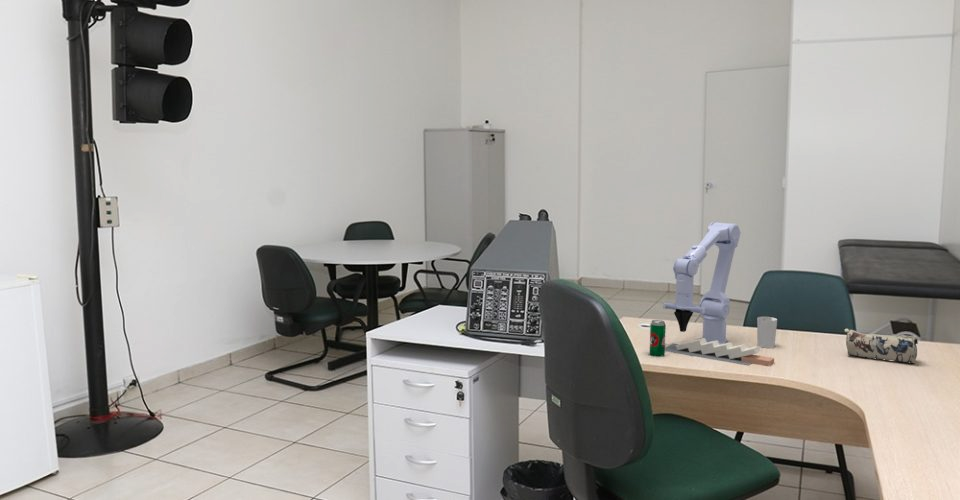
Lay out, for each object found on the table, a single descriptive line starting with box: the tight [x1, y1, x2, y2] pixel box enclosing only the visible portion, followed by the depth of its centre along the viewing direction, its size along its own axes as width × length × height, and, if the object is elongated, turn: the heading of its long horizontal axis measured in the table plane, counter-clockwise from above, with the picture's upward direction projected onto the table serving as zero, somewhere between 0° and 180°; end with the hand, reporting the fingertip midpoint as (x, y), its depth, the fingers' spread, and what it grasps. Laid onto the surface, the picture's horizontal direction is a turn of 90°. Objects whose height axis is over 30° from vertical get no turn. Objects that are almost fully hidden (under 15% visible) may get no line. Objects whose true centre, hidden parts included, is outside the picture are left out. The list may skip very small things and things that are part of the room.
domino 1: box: [676, 338, 706, 350], centre depth 253 cm, size 2×5×9 cm
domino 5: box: [728, 345, 762, 359], centre depth 242 cm, size 2×5×9 cm
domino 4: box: [715, 343, 748, 357], centre depth 245 cm, size 2×5×9 cm
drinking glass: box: [756, 316, 778, 349], centre depth 262 cm, size 7×7×10 cm
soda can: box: [649, 319, 666, 357], centre depth 248 cm, size 5×5×12 cm
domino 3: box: [701, 341, 733, 355], centre depth 248 cm, size 2×5×9 cm
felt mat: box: [665, 343, 753, 366], centre depth 250 cm, size 12×31×1 cm, turn 52°
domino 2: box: [688, 340, 719, 352], centre depth 251 cm, size 2×5×9 cm
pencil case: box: [844, 328, 919, 364], centre depth 245 cm, size 22×8×10 cm, turn 57°
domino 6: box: [741, 354, 775, 367], centre depth 240 cm, size 2×5×9 cm
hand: (683, 331), depth 255 cm, fingers closed
